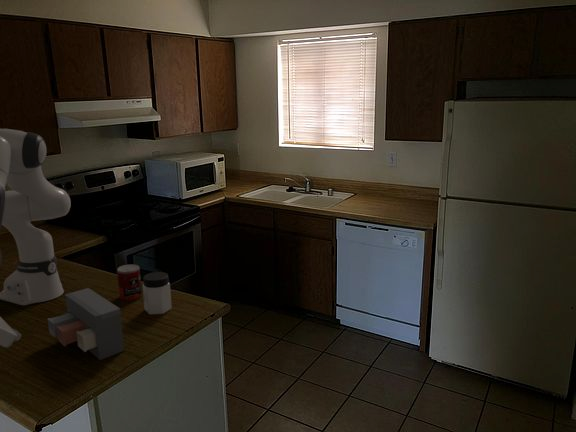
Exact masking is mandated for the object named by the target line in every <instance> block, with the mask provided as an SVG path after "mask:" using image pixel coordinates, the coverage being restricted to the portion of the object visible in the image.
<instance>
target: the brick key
mask: <svg viewBox="0 0 576 432" xmlns="http://www.w3.org/2000/svg"><path fill="white" fill-rule="evenodd" d="M83 330H86V329H85V324H84V323H83V322H82V321H80V320H79V321H76V322H73V323H69V324H66V325H63V326H60V327H59V326H57V333H58V336H57V338H58V339H57V340H58V342H59V343H60V344H61V345H62V346H64V347H67V345H69V344H72V343H75V342H78V341H77V333H76V332H77V331H79V332H80V331H83Z"/></svg>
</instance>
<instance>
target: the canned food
mask: <svg viewBox="0 0 576 432" xmlns="http://www.w3.org/2000/svg"><path fill="white" fill-rule="evenodd" d="M116 270H117V271H116V272H117V273H116V274H117V284H118V294H119V298H120V300H122V301H125V302H131V301H136V300H138V299H141V297H142V295H143V294H142V293H143V290H142V280H141V279H142V278H141V269H140V266H139V265H138V264H133V263H132V264H124V265H121V266H119V267H118V268H117V269H116Z"/></svg>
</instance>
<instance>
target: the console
mask: <svg viewBox="0 0 576 432" xmlns="http://www.w3.org/2000/svg"><path fill="white" fill-rule="evenodd" d="M64 297H65V306H66V314H68V313H71V314H73V315H74V316H75V321H79V320H80V321H82V322H83V323H84V324H85V329H89V328H91V329H92V330H93V331H94V332H96V341H97V347H94V348H91V349H89V350H88V352H90V353H91V354H92V355H93V356H95V357H96V358H97V360H99V361H102V360H104V359H107V358H109V357H113V356H114V355H117V354H120V353H122V352H124V351H125V345H124V335H123V325H122V315H121V314H122V313H121V308H120V307H118V306H117V305H115V304H114V303H112V302H110V301H109V300H108V299H106V298H105V297H103V296H101V295H100V294H98V293H97V292H95V291H94V290H92V289H91V288H89V287H87V288H84V289H79V290H77V291H73V292H69V293H65V294H64Z"/></svg>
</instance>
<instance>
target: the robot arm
mask: <svg viewBox="0 0 576 432" xmlns="http://www.w3.org/2000/svg"><path fill="white" fill-rule="evenodd" d="M47 153H48V152H47V145H46V141H45V139H44V137H42V136H41V135H40V134H37V133H35V132H31V131H29V132H27V131H26V132H25V131H23V130H18V129H10V128H0V232H1V231H2V226H3V228H6V229H7V230H8V231H9V232H10V234H11V235H12V236H13V238H14V240H15V244H16V247H17V251H18V257H19V259H18V260H15V261H13V263H14V264H13V266H16V269H15V271H13V272H12V273H11V274H10V275H9V276H7V277H6V278H5V279H4V282H3V290H1V292H0V300H2V301H6V302H10V303H13V304H16V305H20V306H27V305H31V304H36V303H42V302H47V301H52V300H54V299H56V298H58V297H60V296H62V295H63V294H64V292H65V290H64V288H63V285H62V284H63V283H61V279H60V276H59V272H58V269H57V266H58V263H57V262H58V261H57V255H55V251H54V242H53V241H54V240H53V237H52V235H51V234H50V233H49V232H48V231H46V230H43V229H41V228H37V227H35V226H34V225H33V224H32V223H31V222H32V221H34V222H35V221H43V220H44V221H47V220H54V219H57V218H61V217H65V216H66V215H67V214H68V213H69V212H70V209H71V207H72V205H71V204H72V203H71V202H72V201H71V197H70V195H69V194H68V193H67V191H65V189H63V188H60V187H58V186H55V185H53V184H52V183H51V182H50V181H48V180H47V179H46V177H45V176H44V173H43V170H42V166H41V165H43V164H44V162H45V158H46V157H47ZM6 185H7V186H8V187H9V188H10V189H11V190H5V189H6ZM2 258H3V257H2V251H1V249H0V267H1V266H2V260H3V259H2ZM21 337H22V334H21V333H20V332H19V331H18V330H16V329H14V328H12V327H11V326H10V325H9V324H8V323H7V322H6V321H5V320H4V319H3V318H2V317H1V316H0V346H1V347H4V348H10V347H11V346H12V344H13V343H15V342H18V341H19V340H20V339H21Z"/></svg>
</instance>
